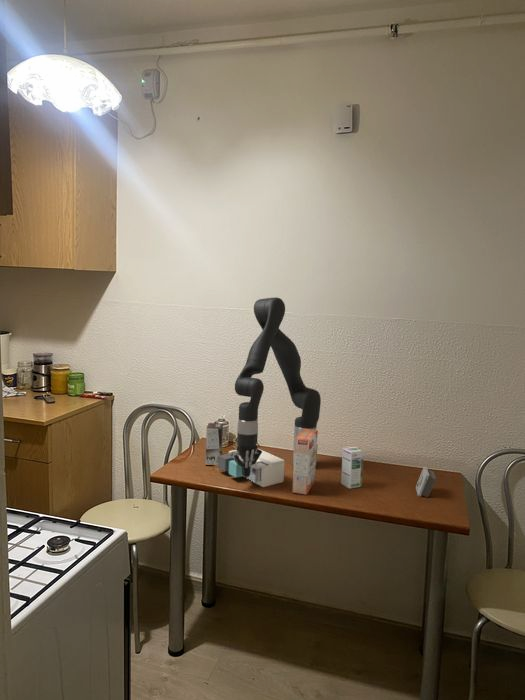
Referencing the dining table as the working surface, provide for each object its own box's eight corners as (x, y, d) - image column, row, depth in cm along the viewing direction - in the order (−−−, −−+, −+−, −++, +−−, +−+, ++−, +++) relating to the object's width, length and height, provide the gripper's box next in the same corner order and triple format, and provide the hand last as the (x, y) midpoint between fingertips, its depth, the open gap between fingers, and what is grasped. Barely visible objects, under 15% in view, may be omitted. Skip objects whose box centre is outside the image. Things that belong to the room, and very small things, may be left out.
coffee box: (220, 466, 212) (221, 428, 210) (204, 466, 212) (205, 428, 210) (222, 459, 221) (223, 422, 219) (207, 458, 221) (208, 422, 220)
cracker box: (307, 495, 186) (310, 439, 184) (291, 493, 188) (294, 437, 185) (315, 482, 199) (318, 429, 197) (300, 480, 201) (303, 427, 199)
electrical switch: (415, 487, 198) (419, 464, 196) (429, 490, 197) (433, 467, 196) (417, 497, 189) (422, 473, 187) (432, 500, 188) (436, 476, 186)
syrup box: (349, 489, 194) (352, 451, 192) (340, 483, 199) (342, 447, 197) (361, 487, 196) (364, 450, 195) (352, 481, 202) (354, 445, 200)
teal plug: (249, 468, 206) (250, 456, 205) (257, 472, 202) (257, 460, 201) (228, 473, 200) (229, 461, 199) (235, 477, 196) (236, 464, 195)
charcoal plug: (238, 463, 211) (239, 451, 211) (245, 466, 208) (246, 454, 207) (218, 467, 205) (218, 455, 205) (225, 471, 201) (225, 459, 201)
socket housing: (248, 464, 217) (249, 444, 215) (283, 481, 198) (284, 460, 197) (228, 468, 210) (229, 448, 209) (262, 487, 192) (263, 464, 191)
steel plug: (267, 472, 202) (268, 460, 201) (275, 476, 198) (276, 464, 197) (247, 477, 196) (247, 465, 195) (255, 482, 192) (255, 469, 191)
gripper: (255, 426, 197) (254, 470, 199) (227, 431, 189) (225, 476, 191) (268, 431, 191) (266, 476, 193) (238, 436, 183) (237, 483, 185)
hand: (246, 476), depth 192 cm, fingers closed
